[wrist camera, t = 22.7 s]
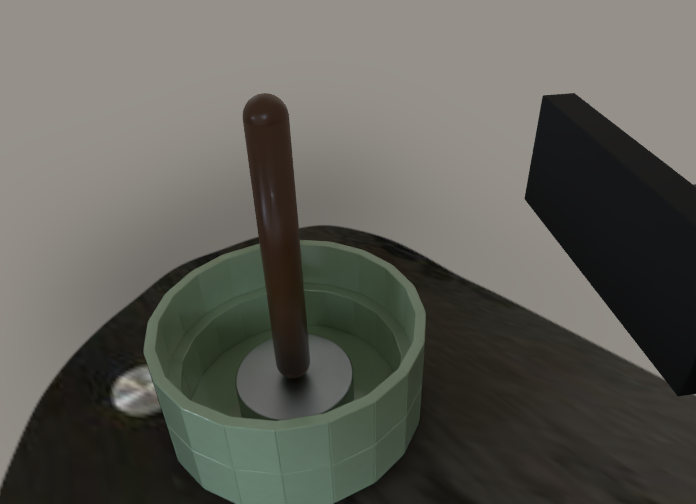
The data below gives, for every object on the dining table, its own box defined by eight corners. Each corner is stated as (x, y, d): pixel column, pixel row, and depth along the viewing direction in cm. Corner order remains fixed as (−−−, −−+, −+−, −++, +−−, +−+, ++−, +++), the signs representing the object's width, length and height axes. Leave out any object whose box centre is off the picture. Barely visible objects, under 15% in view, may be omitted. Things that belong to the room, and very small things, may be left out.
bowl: (215, 571, 28) (189, 484, 24) (146, 367, 39) (120, 285, 35) (471, 441, 34) (484, 353, 30) (347, 295, 45) (344, 217, 41)
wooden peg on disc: (264, 463, 32) (208, 142, 21) (224, 379, 37) (162, 86, 26) (375, 413, 35) (375, 104, 24) (323, 341, 40) (303, 60, 29)
